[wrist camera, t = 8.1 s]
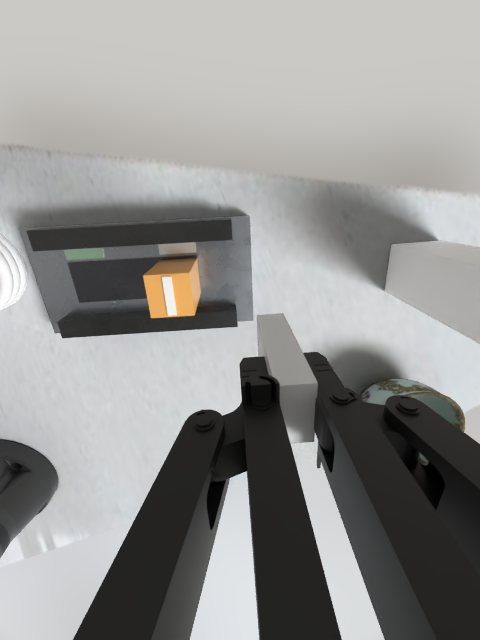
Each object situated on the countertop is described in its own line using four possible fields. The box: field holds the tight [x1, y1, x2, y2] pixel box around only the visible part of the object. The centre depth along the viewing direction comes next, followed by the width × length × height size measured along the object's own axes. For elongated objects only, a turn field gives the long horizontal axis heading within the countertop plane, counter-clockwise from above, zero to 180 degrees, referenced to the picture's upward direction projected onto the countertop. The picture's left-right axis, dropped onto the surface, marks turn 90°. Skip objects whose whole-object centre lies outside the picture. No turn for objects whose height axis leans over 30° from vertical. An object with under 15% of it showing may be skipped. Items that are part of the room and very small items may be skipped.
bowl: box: [360, 379, 465, 463], centre depth 38 cm, size 14×13×8 cm
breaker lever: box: [143, 258, 201, 318], centre depth 28 cm, size 4×4×7 cm
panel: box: [19, 216, 253, 338], centre depth 31 cm, size 24×12×4 cm, turn 93°
